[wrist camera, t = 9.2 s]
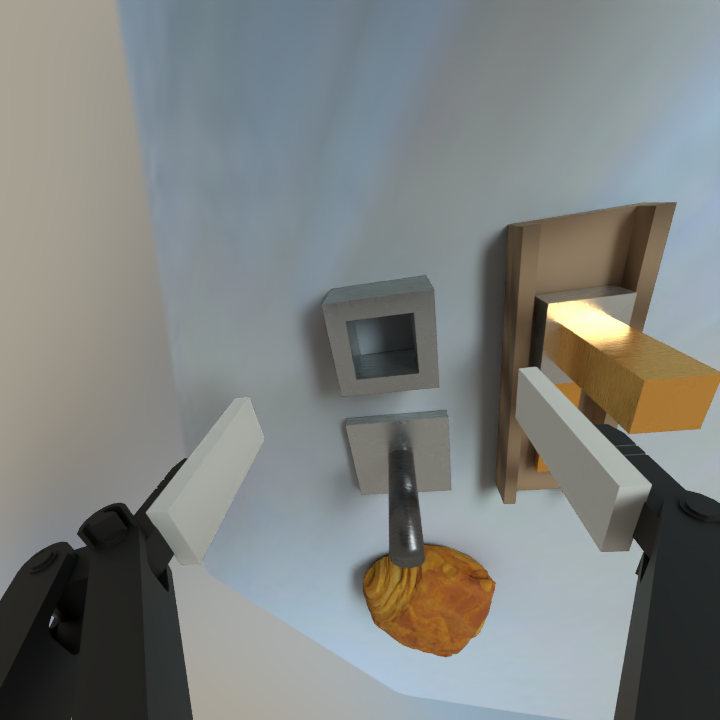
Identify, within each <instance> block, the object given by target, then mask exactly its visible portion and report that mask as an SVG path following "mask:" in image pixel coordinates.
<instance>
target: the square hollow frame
mask: <svg viewBox="0 0 720 720" xmlns="http://www.w3.org/2000/svg"><path fill="white" fill-rule="evenodd" d="M322 310H323V314H324V319H325V323H326V328H327V332H328V337H329V341H330V346H331V350H332V355H333V359H334V364H335V368H336V373H337V377H338V382H339V386H340V390H341V395H342V397H345V396H356V395H366V394H377V393H387V392H397V391H408V390H418V389H429V388H439V372H438V353H437V335H436V316H435V298H434V288H433V286H432V285H431V283H430V281H429V279H428V278H427V276H426V275H424V276H417V277H410V278H404V279H397V280H390V281H383V282H376V283H369V284H362V285H356V286H349V287H342V288H335V289H331V290H330V292H329V293H328V295H327V297H326V298H325V300H324V301H323V303H322ZM407 313H411V318H412V329H413V340H414V349H409V350H400V351H391V352H382V353H374V354H365V355H360V350H359V344H358V339H357V333H356V327H355V322H354V320H361V319H368V318H376V317H384V316H391V315H399V314H407Z"/></svg>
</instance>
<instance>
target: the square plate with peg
mask: <svg viewBox="0 0 720 720" xmlns="http://www.w3.org/2000/svg"><path fill="white" fill-rule="evenodd" d="M346 430H347V434H348V438H349V443H350V447H351V452H352V456H353V460H354V465H355V469H356V473H357V478H358V482H359V487H360V491H361V495H369V494H388V493H389V557H390V561H391V562H392V563H393V564H394V565H396V566H398V567H402V568H415V567H418V566H420V565H421V564H423V563H424V561H425V552H424V543H423V535H422V526H421V517H420V508H419V499H418V492H428V491H447V490H451V468H450V444H449V419H448V414H447V411H446V410H440V411H429V412H417V413H405V414H394V415H382V416H371V417H359V418H347V420H346Z"/></svg>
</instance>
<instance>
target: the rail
mask: <svg viewBox="0 0 720 720" xmlns="http://www.w3.org/2000/svg"><path fill="white" fill-rule="evenodd" d="M676 203H677V202H665V203H638V204H632V205H626V206H620V207H614V208H607V209H601V210H595V211H589V212H583V213H577V214H570V215H564V216H558V217H552V218H546V219H540V220H533V221H527V222H521V223H515V224H509V226H508V246H507V266H506V286H505V306H504V326H503V346H502V366H501V387H500V407H499V427H498V447H497V467H496V485H497V488H498V490H499V493H500V495H501V498H502V500H503V503H504V504H515V501H516V491H518V490H539V489H559V488H560V487H559V485H558V484H557V482H556V481H555V479H554V477H553V476H552V474H551V473H550V471H546V472H537V471H536V469H535V468H534V463H535V455H536V449H535V448H534V446H533V444H532V443H531V441H530V440H529V438H528V437H527V435H526V433H525V432H524V430H523V429H522V427H521V426H520V424H519V422H518V421H517V419H516V418H515V414H516V401H517V387H518V373H519V368H528V362H529V352H530V341H531V330H532V319H533V309H534V298H535V295H541V294H549V293H557V292H564V291H572V290H580V289H587V288H595V287H603V286H610V285H617V286H619V287H622V288H625V289H628V290H631V291H634V292H636V293H637V295H636V299H635V303H634V307H633V312H632V316H631V320H630V324H629V326H630V327H632V328H634V329H636V330H638V331H640V332H642V331H643V327H644V324H645V320H646V316H647V312H648V309H649V305H650V301H651V297H652V294H653V290H654V286H655V282H656V278H657V275H658V271H659V267H660V263H661V260H662V256H663V252H664V248H665V245H666V241H667V237H668V233H669V230H670V226H671V222H672V218H673V214H674V211H675V207H676ZM578 410H579V411H580V412H581V413H582V414H583V415H584V416H585V417H586V418H587V419H588V420H589V421H590V422H591V423H592V424H593V425H600V424H609V425H610V426H612V427H614V428H616V429H617V425H618V423H617V422H616V421H615V420H614V419H613V418H612V417H611V416H610V415H609V414H608V413H606V412H605V411H604V410H603V409H602V408H601V407H600V406H599V405H598V404H597V403H596V402H595V401H594V400H593V399H592V398H591V397H589V396H588V395H587V394H586V393H585V392H584V391H583V390H582V389H581V394H580V399H579V405H578Z"/></svg>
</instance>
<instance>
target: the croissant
mask: <svg viewBox="0 0 720 720" xmlns="http://www.w3.org/2000/svg"><path fill="white" fill-rule="evenodd" d="M424 552H425V561H424V563H423V564H421V565H420V566H418V567H415V568H402V567H398V566H396V565H394V564H393V563H392V562H391V561H390V557H389V555H388V556H387V557H382V558H381V559H380V560H378V561H376V562H375V564H374V565H373V566H372V567H371V568H370V569H369V570H368V571H367V572H366V574H365V576H364V582H363V592H364V596H365V598H366V602H367V606H368V608H369V611H370V612H371V616H372V619H373V621H374V623H375V624H376V625H377V626H378V627H379V628H381V629H382V630H384V631H385V632H386V633H388V634H389V635H390V636H391V637H392V638H394V639H395V640H396V641H398V642H399V643H401V644H402V645H404V646H407V647H409V648H412V649H418V650H420V651H423V652H426V653H433V654H435V655H438V656H443V657H449V656H452V654H458V653H459V652H460V651H461V650H462V649H463V648H464V647H465V646H466V645H467V643H468V642H469V641H470V639H471V638H473V637H476V636H477V635H478V634H479V633H480V631H481V629H482V627H483V625H484V623H485V619H486V617H487V615H488V613H489V609H490V605H491V603H492V601H491V600H492V596H493V593H494V590H495V584H496V583H495V582H494V581H493V580H492V578H490V576H489V575H488V572H487V570H485V569H484V568H483V566H482V565H480V564H479V563H478V562H476V561H475V560H474V559H472V558H471V557H470V556H468V555H465V554H463V553H461V552H459V551H457V550H454V549H451V548H448V547H444V546H438V545H424Z"/></svg>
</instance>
